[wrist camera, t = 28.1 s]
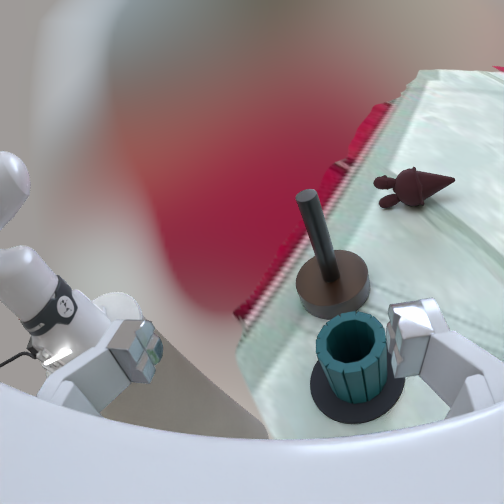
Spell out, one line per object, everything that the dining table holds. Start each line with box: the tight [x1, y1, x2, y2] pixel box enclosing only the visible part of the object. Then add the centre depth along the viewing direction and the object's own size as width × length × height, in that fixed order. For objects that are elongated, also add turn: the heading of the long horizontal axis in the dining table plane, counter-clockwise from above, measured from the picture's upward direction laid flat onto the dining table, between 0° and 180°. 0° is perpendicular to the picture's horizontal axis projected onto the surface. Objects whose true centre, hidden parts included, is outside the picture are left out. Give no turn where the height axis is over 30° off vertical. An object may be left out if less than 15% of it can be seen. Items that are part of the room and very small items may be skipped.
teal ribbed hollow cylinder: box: [316, 311, 387, 404], centre depth 28 cm, size 6×6×8 cm
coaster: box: [310, 342, 405, 424], centre depth 31 cm, size 11×11×1 cm
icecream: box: [373, 167, 455, 208], centre depth 46 cm, size 7×7×15 cm
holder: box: [296, 189, 370, 319], centre depth 37 cm, size 10×10×16 cm
